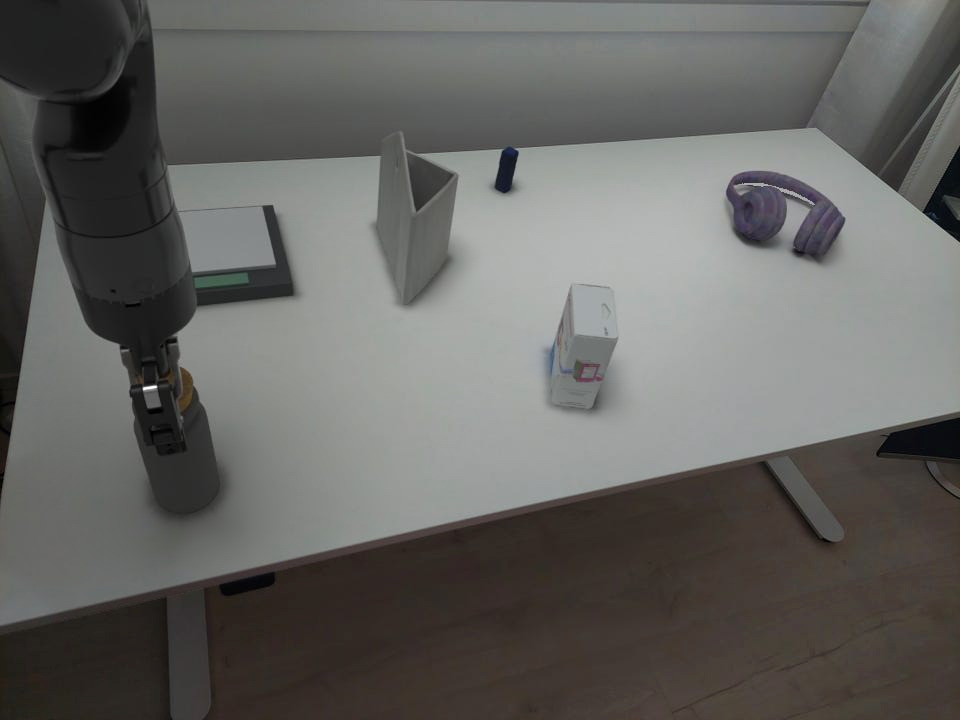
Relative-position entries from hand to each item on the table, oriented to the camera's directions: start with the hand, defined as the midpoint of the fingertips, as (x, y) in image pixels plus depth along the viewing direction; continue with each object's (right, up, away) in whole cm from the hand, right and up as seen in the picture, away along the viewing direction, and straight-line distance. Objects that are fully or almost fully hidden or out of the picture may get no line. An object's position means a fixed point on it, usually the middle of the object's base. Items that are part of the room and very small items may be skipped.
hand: (169, 410), depth 60 cm
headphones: (+74, +27, +57) cm, 97 cm away
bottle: (-2, -8, +9) cm, 12 cm away
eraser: (+29, +31, +52) cm, 67 cm away
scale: (-7, +17, +31) cm, 35 cm away
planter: (+17, +17, +36) cm, 44 cm away
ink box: (+37, +2, +26) cm, 45 cm away
